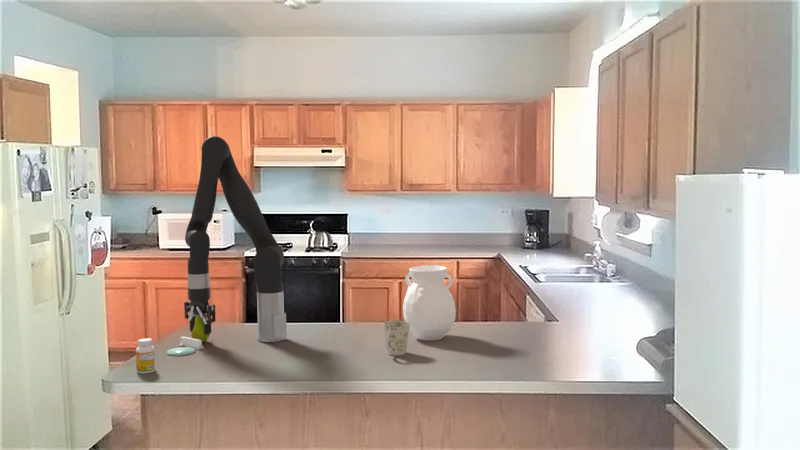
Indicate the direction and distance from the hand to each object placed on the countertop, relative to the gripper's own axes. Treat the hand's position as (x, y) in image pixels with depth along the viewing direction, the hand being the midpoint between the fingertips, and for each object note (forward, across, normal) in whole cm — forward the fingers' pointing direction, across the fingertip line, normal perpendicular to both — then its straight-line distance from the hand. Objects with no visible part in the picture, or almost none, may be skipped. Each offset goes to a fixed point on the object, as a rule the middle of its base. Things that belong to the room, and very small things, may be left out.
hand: (200, 332), depth 264 cm
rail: (+3, -3, +6) cm, 8 cm away
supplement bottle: (+4, -16, +34) cm, 37 cm away
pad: (+3, -6, +13) cm, 15 cm away
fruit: (+4, 0, 0) cm, 4 cm away
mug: (+4, -67, -24) cm, 71 cm away
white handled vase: (+4, -63, -50) cm, 80 cm away
